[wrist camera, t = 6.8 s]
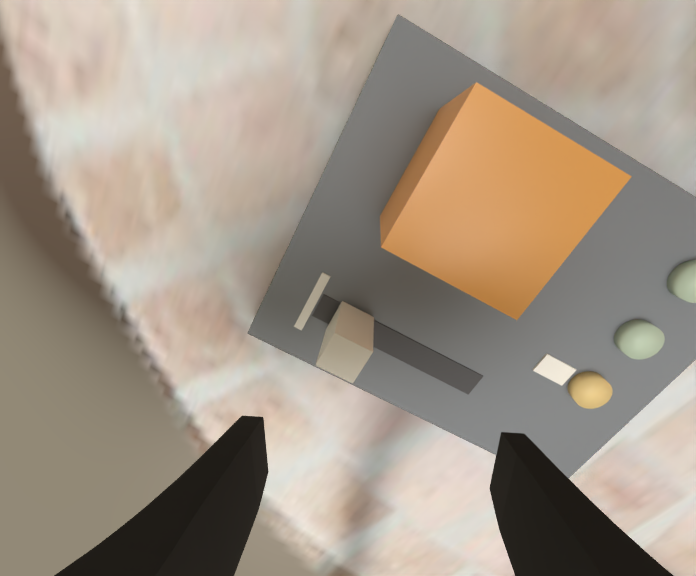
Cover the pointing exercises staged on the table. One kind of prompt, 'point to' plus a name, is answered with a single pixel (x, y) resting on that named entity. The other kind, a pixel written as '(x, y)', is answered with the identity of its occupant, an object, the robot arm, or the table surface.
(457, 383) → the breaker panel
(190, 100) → the table surface
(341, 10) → the table surface
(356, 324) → the switch
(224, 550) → the robot arm
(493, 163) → the cap
